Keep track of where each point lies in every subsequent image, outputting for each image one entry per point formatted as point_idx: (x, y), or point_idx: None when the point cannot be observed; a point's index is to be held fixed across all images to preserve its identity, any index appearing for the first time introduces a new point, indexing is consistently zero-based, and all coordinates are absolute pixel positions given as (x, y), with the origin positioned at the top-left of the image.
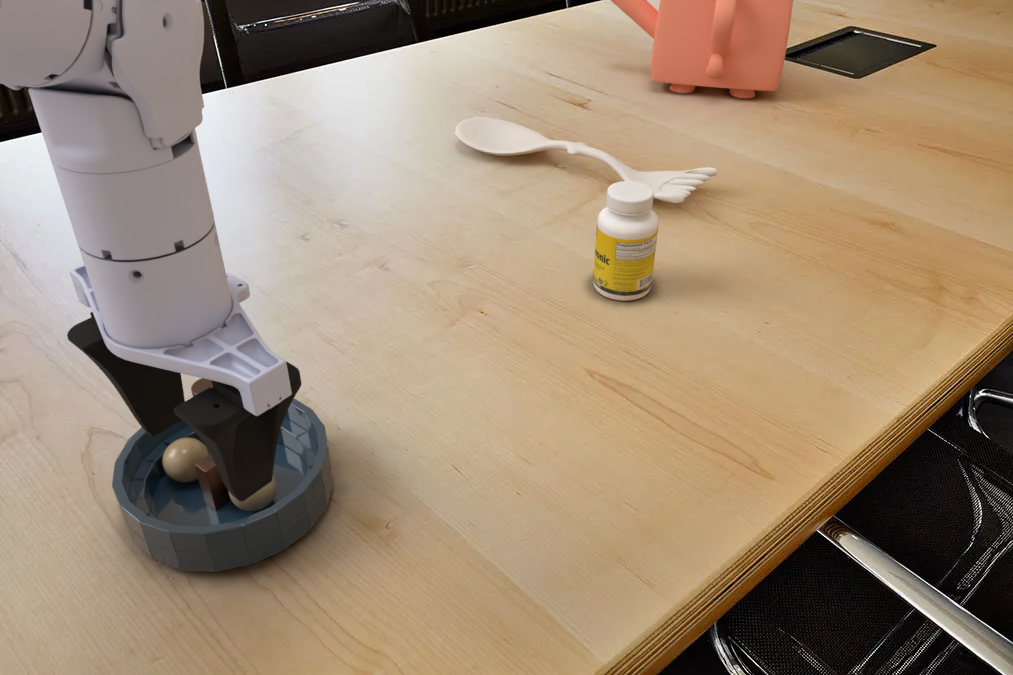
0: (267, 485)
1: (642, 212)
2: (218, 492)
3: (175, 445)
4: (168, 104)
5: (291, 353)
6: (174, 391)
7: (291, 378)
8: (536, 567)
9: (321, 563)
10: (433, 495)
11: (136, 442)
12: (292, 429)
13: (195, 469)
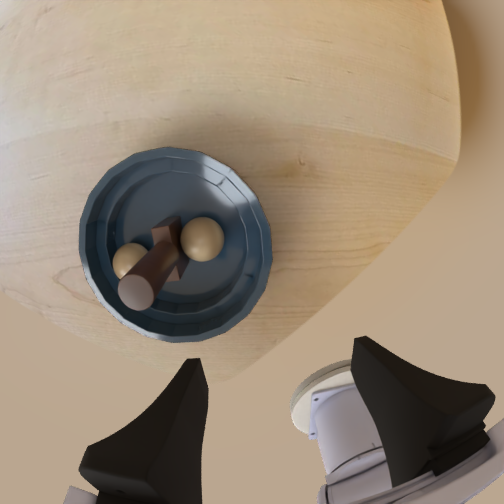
0: (218, 234)
1: None
2: (184, 262)
3: (123, 275)
4: None
5: (60, 108)
6: (193, 390)
7: (489, 406)
8: (404, 124)
9: (293, 226)
10: (302, 113)
11: (106, 299)
12: (159, 168)
13: None
